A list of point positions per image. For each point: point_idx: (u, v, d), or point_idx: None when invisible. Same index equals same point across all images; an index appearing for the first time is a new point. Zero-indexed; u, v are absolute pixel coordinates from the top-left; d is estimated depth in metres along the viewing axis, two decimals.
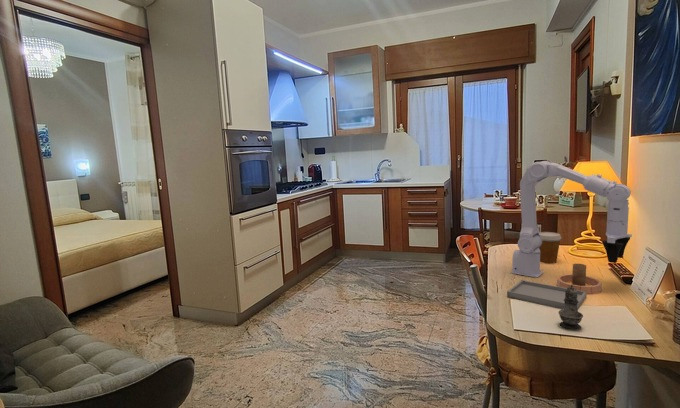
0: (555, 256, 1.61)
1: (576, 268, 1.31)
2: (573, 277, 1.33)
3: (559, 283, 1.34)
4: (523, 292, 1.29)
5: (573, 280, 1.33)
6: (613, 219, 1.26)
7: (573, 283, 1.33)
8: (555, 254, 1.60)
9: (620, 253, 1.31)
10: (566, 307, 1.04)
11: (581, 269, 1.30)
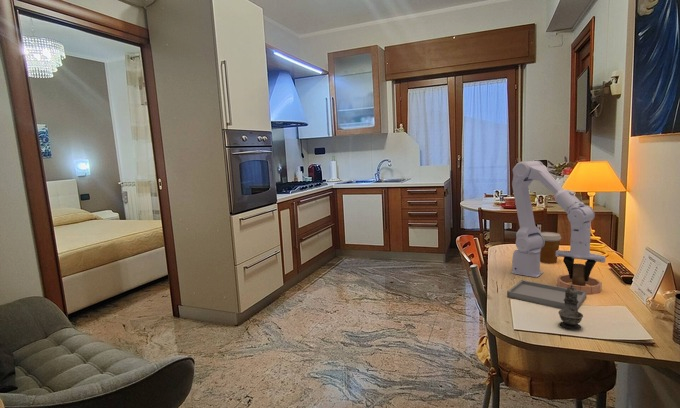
0: (555, 256, 1.61)
1: (576, 268, 1.31)
2: (573, 277, 1.33)
3: (559, 283, 1.34)
4: (523, 292, 1.29)
5: (573, 280, 1.33)
6: (573, 239, 1.30)
7: (573, 283, 1.33)
8: (555, 254, 1.60)
9: None
10: (566, 307, 1.04)
11: (581, 269, 1.30)
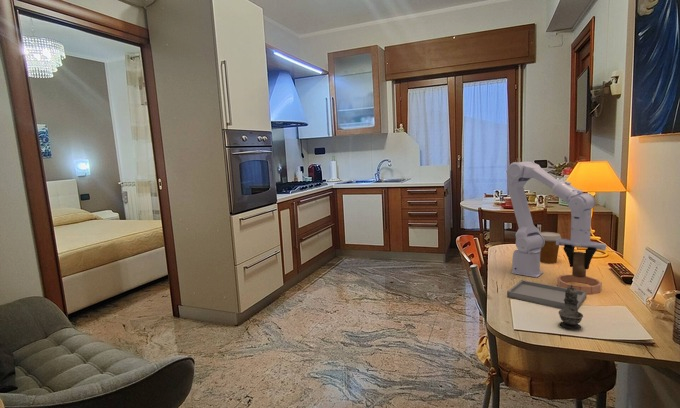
0: (555, 256, 1.61)
1: (576, 256, 1.31)
2: (573, 265, 1.32)
3: (559, 283, 1.34)
4: (523, 292, 1.29)
5: (573, 268, 1.32)
6: (573, 227, 1.30)
7: (573, 271, 1.32)
8: (555, 254, 1.60)
9: None
10: (566, 307, 1.04)
11: (581, 257, 1.30)
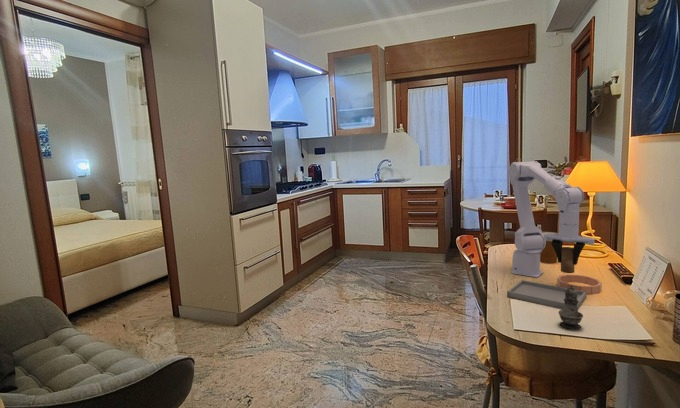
0: (555, 256, 1.61)
1: (565, 251, 1.27)
2: (562, 261, 1.29)
3: (559, 283, 1.34)
4: (523, 292, 1.29)
5: (562, 264, 1.29)
6: (559, 221, 1.27)
7: (562, 267, 1.29)
8: (555, 254, 1.60)
9: None
10: (566, 307, 1.04)
11: (570, 252, 1.27)
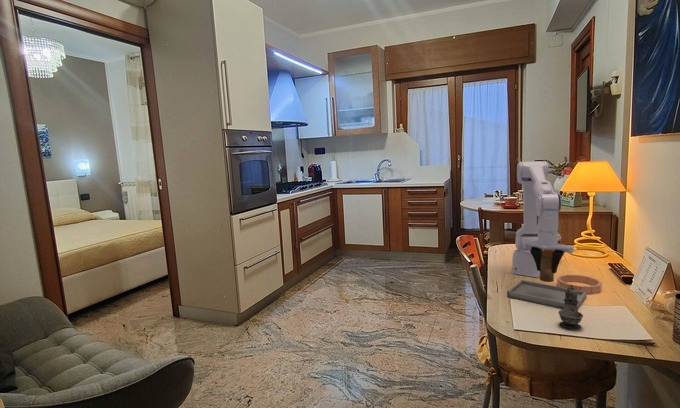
0: None
1: (543, 259, 1.23)
2: (540, 269, 1.25)
3: (559, 283, 1.34)
4: (523, 292, 1.29)
5: (540, 272, 1.25)
6: (537, 227, 1.24)
7: (540, 275, 1.25)
8: None
9: None
10: (566, 307, 1.04)
11: (548, 260, 1.22)
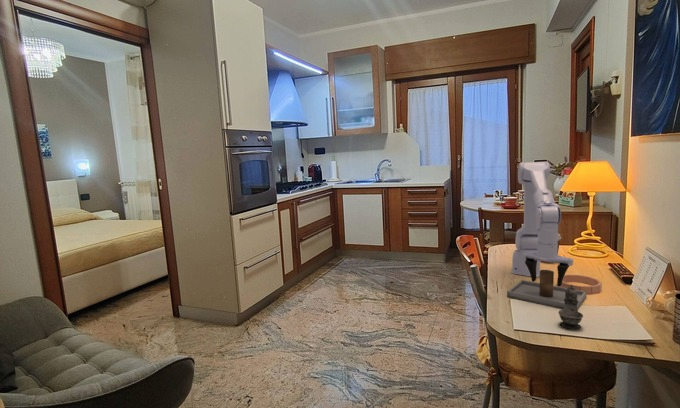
0: None
1: (543, 275, 1.24)
2: (540, 284, 1.25)
3: None
4: (523, 292, 1.29)
5: (540, 287, 1.25)
6: None
7: (540, 290, 1.25)
8: None
9: None
10: (566, 307, 1.04)
11: (548, 276, 1.23)
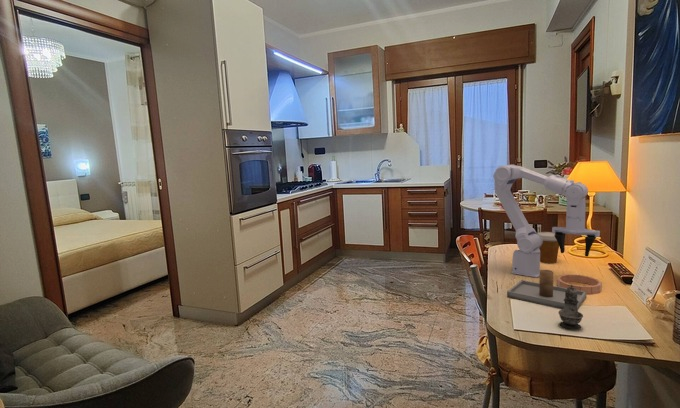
0: (555, 256, 1.61)
1: (543, 275, 1.24)
2: (540, 284, 1.25)
3: (559, 283, 1.34)
4: (523, 292, 1.29)
5: (540, 287, 1.25)
6: (571, 216, 1.34)
7: (540, 290, 1.25)
8: (555, 254, 1.60)
9: None
10: (566, 307, 1.04)
11: (548, 276, 1.23)
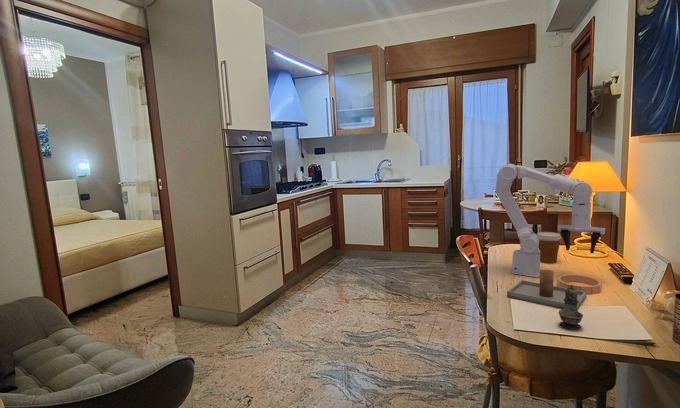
0: (555, 256, 1.61)
1: (543, 274, 1.24)
2: (540, 284, 1.25)
3: (559, 283, 1.34)
4: (523, 292, 1.29)
5: (540, 287, 1.25)
6: (579, 214, 1.36)
7: (540, 290, 1.25)
8: (555, 254, 1.60)
9: None
10: (566, 307, 1.04)
11: (548, 276, 1.23)
